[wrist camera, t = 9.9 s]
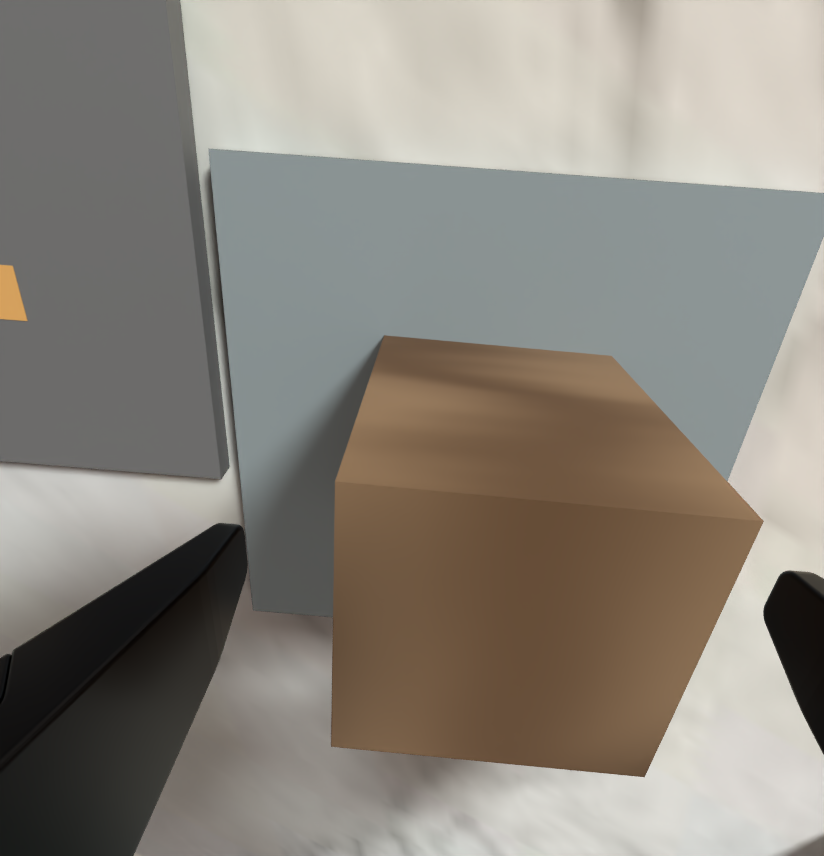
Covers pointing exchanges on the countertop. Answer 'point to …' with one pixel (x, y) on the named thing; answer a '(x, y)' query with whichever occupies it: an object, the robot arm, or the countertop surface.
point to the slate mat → (478, 308)
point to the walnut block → (522, 560)
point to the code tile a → (103, 244)
